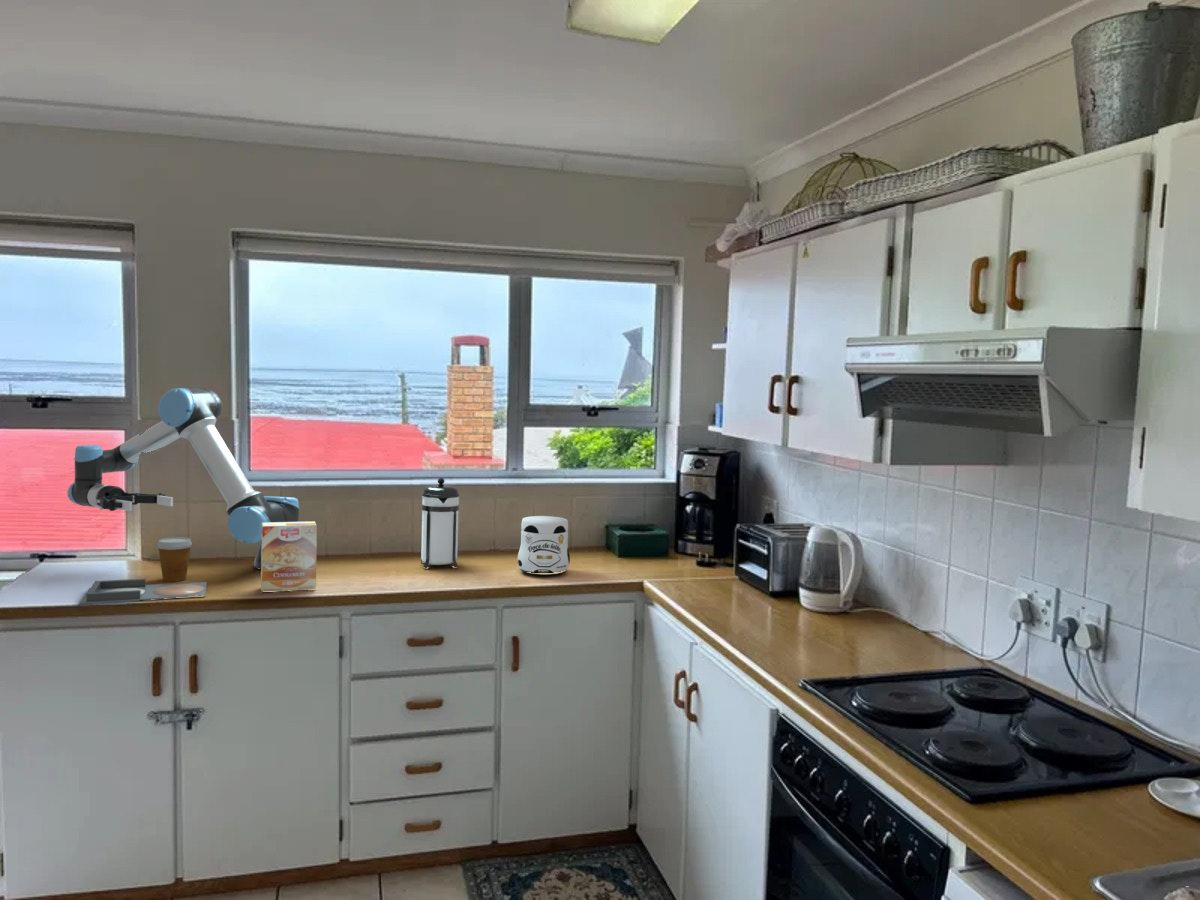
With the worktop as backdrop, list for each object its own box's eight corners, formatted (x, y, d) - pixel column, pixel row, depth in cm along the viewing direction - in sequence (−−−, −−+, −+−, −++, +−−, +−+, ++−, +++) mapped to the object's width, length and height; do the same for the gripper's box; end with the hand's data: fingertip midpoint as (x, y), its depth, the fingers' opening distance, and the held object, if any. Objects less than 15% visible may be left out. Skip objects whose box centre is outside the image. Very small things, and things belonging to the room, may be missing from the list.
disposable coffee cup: (177, 584, 250) (177, 543, 249) (149, 581, 251) (149, 541, 251) (199, 577, 259) (199, 538, 258) (171, 575, 261) (171, 536, 260)
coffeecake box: (261, 593, 242) (262, 525, 241) (260, 588, 248) (261, 522, 247) (316, 590, 248) (317, 524, 247) (314, 585, 255) (315, 520, 253)
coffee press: (472, 565, 291) (474, 478, 289) (440, 572, 277) (442, 481, 275) (435, 558, 300) (437, 473, 298) (402, 565, 287) (403, 476, 285)
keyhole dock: (206, 583, 251) (206, 575, 251) (205, 597, 235) (205, 588, 235) (89, 590, 239) (89, 580, 239) (79, 604, 223) (79, 594, 223)
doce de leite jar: (538, 580, 271) (540, 525, 269) (506, 571, 284) (508, 517, 282) (579, 574, 282) (581, 521, 281) (547, 565, 295) (549, 514, 294)
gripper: (144, 505, 279) (187, 511, 269) (67, 513, 257) (112, 521, 247) (144, 482, 278) (188, 488, 269) (67, 488, 256) (112, 495, 247)
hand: (151, 504), depth 258 cm, fingers open, 13 cm apart
